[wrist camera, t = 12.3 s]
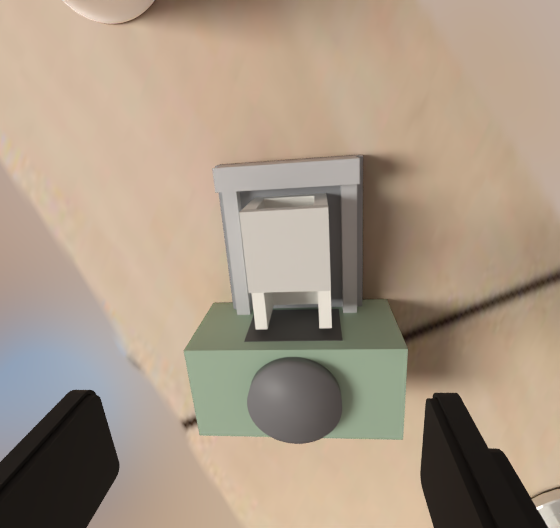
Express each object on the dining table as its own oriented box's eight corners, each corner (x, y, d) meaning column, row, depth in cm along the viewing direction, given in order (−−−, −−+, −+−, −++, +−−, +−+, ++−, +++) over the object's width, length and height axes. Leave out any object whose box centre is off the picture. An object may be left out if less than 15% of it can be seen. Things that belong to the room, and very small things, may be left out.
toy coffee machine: (384, 373, 30) (406, 452, 23) (223, 373, 32) (195, 446, 24) (390, 152, 24) (423, 159, 17) (193, 166, 26) (142, 178, 18)
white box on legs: (254, 197, 25) (239, 212, 20) (326, 193, 24) (328, 207, 20) (264, 300, 28) (253, 335, 23) (329, 298, 27) (332, 334, 22)
